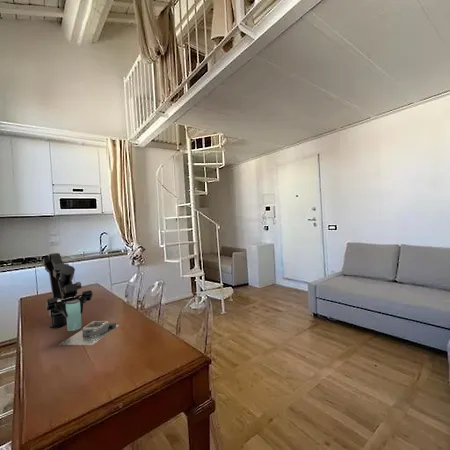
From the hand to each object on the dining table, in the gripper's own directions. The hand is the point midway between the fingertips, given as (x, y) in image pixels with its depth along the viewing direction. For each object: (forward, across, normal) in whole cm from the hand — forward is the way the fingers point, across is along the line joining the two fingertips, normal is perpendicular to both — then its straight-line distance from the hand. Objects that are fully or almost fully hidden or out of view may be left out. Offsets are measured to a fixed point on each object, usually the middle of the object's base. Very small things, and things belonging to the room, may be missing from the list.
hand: (74, 314), depth 120 cm
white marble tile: (+7, +7, +12) cm, 16 cm away
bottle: (+4, 0, +6) cm, 7 cm away
